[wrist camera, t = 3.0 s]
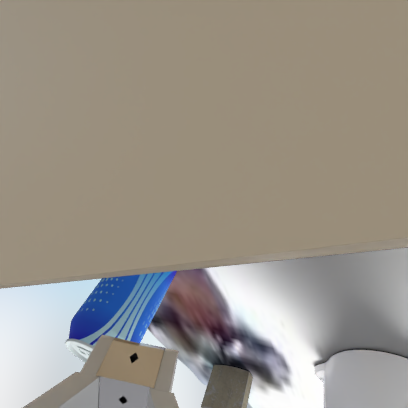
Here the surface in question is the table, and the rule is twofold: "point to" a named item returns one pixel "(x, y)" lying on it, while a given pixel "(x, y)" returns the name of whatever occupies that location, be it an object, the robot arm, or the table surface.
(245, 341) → the table surface
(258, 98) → the carton flap
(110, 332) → the beer can
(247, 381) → the padlock
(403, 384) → the robot arm
